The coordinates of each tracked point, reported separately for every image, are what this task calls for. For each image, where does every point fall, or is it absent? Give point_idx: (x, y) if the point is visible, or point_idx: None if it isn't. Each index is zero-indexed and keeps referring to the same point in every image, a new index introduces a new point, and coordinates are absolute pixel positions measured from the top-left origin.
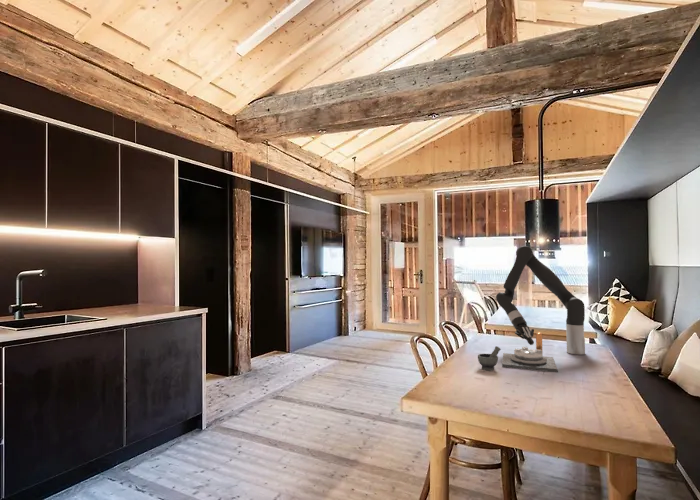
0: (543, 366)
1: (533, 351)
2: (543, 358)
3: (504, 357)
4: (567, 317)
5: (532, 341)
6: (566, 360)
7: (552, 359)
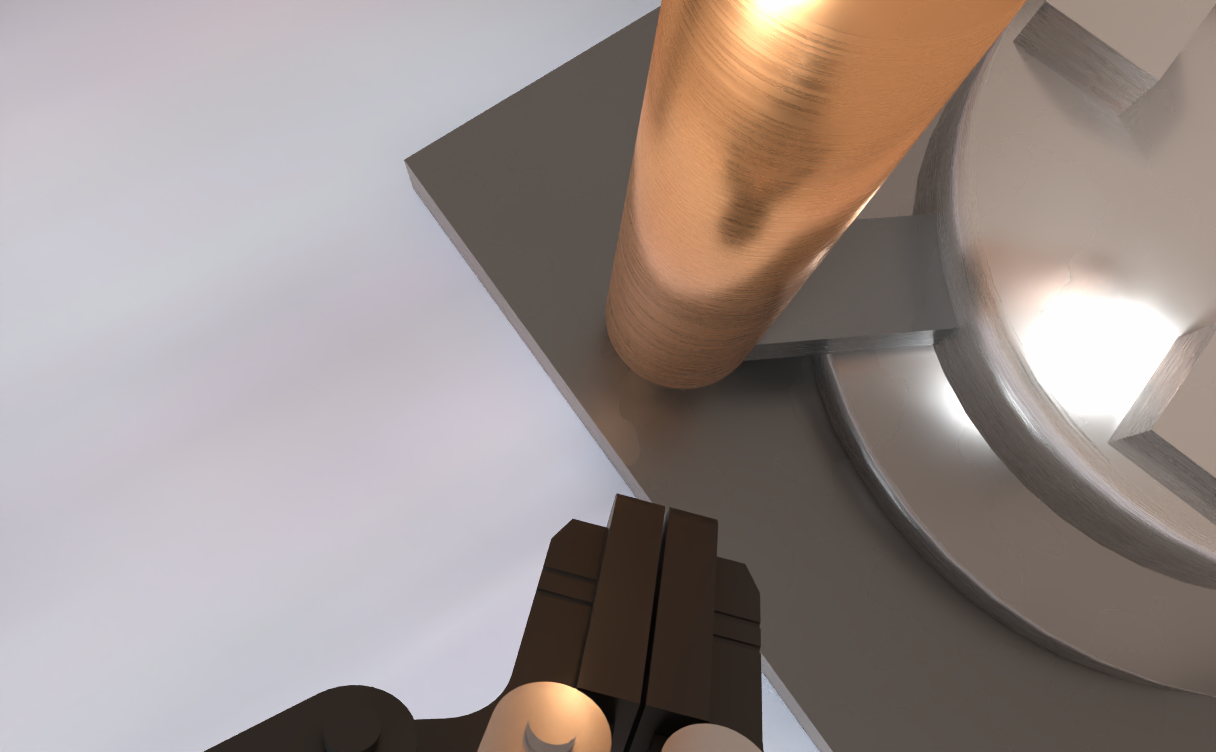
0: None
1: (1187, 144)
2: None
3: None
4: None
5: (645, 539)
6: (216, 18)
7: (616, 63)
